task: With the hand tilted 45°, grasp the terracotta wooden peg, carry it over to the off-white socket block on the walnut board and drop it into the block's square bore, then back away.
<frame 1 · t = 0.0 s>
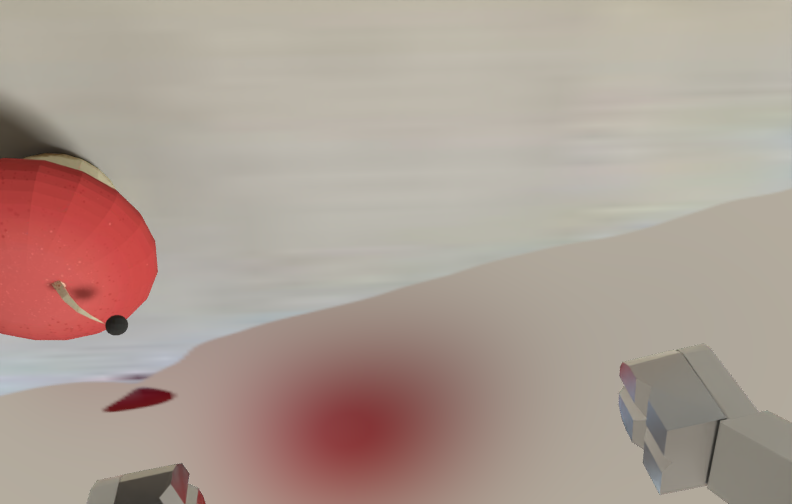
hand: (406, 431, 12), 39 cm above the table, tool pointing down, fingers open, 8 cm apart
mushroom: (65, 190, 52), on the table
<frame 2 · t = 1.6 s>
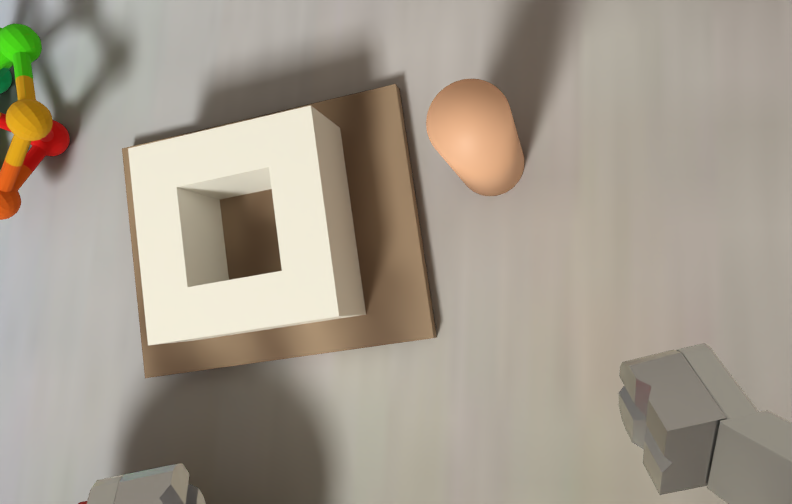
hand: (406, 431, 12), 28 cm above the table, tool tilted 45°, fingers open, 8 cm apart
peg: (491, 163, 40), on the table
socket block: (248, 232, 40), on the base board, point 4 cm above the table
decorative model: (26, 125, 50), on the table
base board: (272, 237, 44), on the table
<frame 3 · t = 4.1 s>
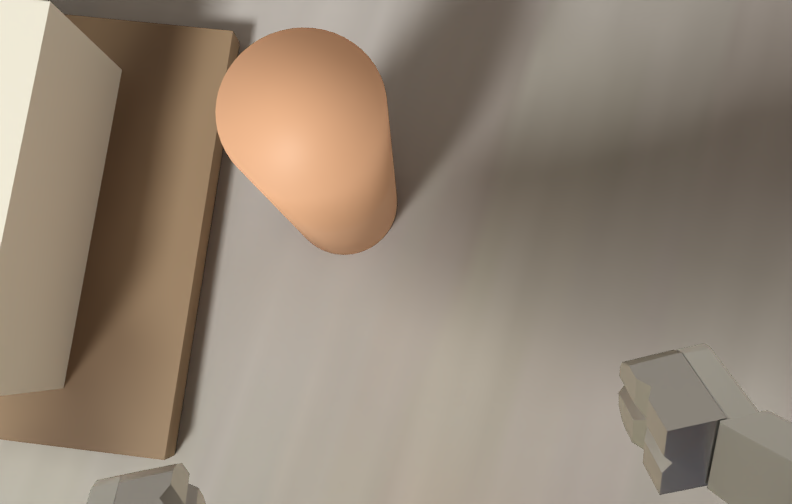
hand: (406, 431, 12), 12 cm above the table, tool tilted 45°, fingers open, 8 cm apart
peg: (345, 202, 25), on the table
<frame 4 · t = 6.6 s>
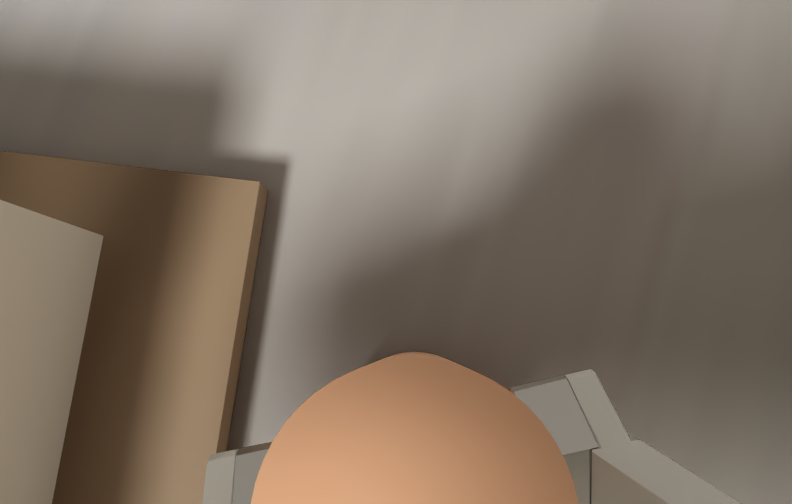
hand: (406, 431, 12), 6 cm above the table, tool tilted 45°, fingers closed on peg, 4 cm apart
peg: (415, 426, 18), on the table, touching gripper
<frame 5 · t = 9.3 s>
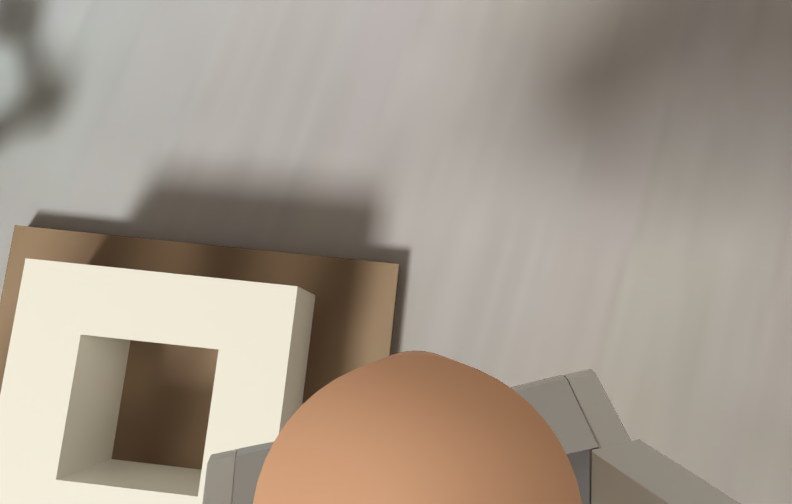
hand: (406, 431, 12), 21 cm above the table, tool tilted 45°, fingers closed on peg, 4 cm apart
peg: (415, 425, 18), point 15 cm above the table, touching gripper
socket block: (161, 408, 30), on the base board, point 4 cm above the table
base board: (187, 401, 33), on the table
when the fingers open (9 cm above the table, at t = 12.3 s): peg drops 2 cm, resting on base board.
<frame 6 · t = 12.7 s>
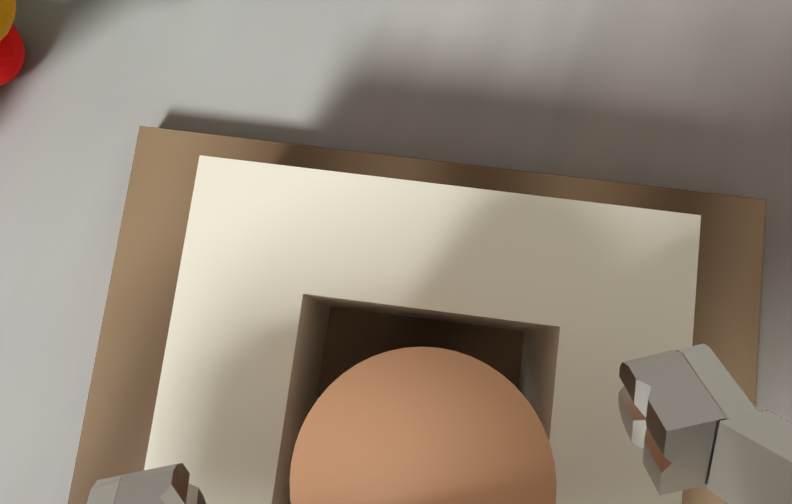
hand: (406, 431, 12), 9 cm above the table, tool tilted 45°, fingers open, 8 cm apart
peg: (415, 416, 20), point 1 cm above the table, touching base board
socket block: (414, 428, 17), on the base board, point 4 cm above the table
base board: (414, 414, 21), on the table
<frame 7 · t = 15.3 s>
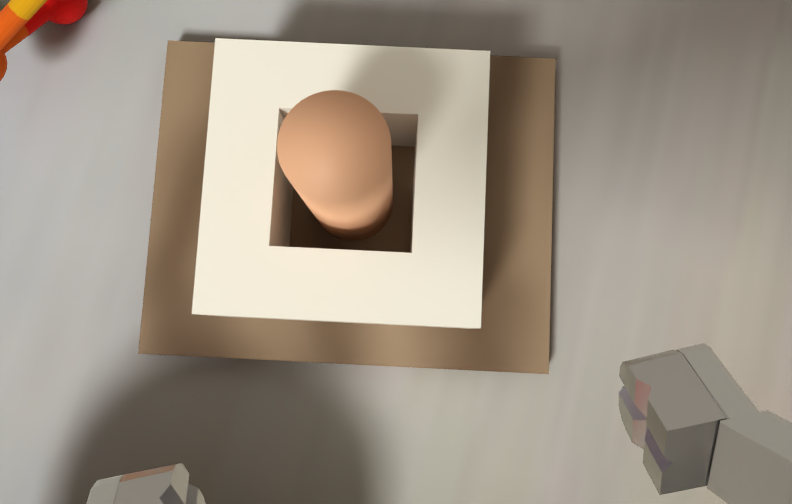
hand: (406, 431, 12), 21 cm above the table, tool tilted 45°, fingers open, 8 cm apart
peg: (353, 201, 33), point 1 cm above the table, touching base board
socket block: (348, 191, 30), on the base board, point 4 cm above the table
base board: (353, 205, 34), on the table
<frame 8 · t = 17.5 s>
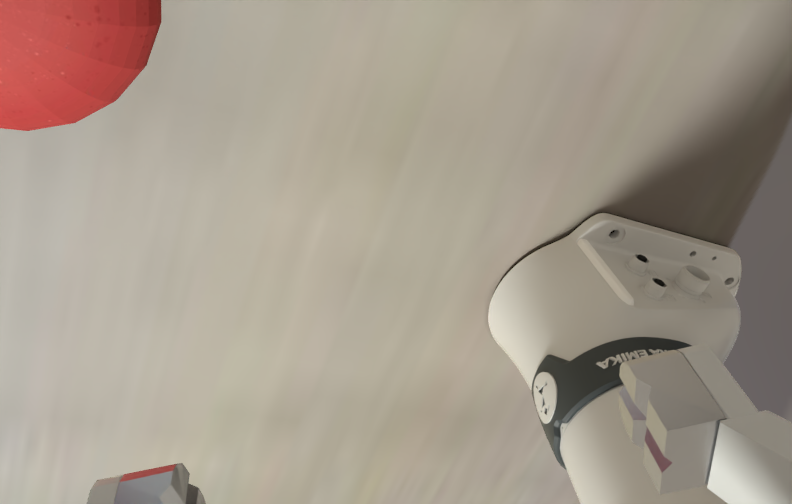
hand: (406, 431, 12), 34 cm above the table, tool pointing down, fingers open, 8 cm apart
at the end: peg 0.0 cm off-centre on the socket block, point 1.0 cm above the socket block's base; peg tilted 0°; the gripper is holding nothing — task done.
